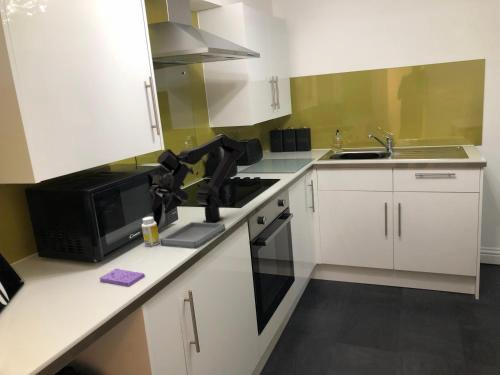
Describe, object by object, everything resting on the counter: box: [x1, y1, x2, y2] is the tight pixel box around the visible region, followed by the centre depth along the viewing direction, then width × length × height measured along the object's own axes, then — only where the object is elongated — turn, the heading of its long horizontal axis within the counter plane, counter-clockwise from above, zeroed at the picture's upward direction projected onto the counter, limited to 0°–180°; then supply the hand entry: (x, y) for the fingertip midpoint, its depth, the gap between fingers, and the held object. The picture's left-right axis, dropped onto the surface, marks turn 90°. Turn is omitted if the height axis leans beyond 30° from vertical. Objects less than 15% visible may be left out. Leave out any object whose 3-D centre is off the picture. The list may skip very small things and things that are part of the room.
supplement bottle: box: [141, 216, 161, 247], centre depth 155 cm, size 6×6×10 cm
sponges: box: [99, 268, 146, 287], centre depth 127 cm, size 7×13×2 cm, turn 61°
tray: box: [159, 221, 226, 249], centre depth 158 cm, size 20×16×2 cm
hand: (158, 212), depth 157 cm, fingers open, 9 cm apart
